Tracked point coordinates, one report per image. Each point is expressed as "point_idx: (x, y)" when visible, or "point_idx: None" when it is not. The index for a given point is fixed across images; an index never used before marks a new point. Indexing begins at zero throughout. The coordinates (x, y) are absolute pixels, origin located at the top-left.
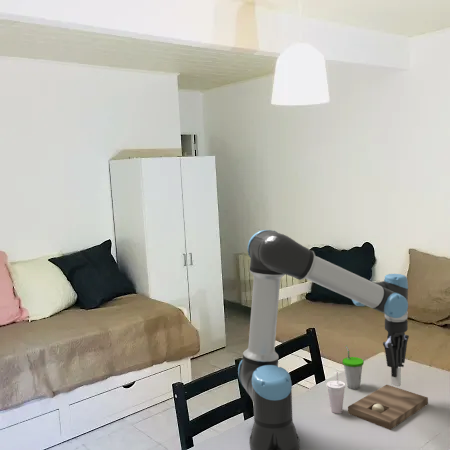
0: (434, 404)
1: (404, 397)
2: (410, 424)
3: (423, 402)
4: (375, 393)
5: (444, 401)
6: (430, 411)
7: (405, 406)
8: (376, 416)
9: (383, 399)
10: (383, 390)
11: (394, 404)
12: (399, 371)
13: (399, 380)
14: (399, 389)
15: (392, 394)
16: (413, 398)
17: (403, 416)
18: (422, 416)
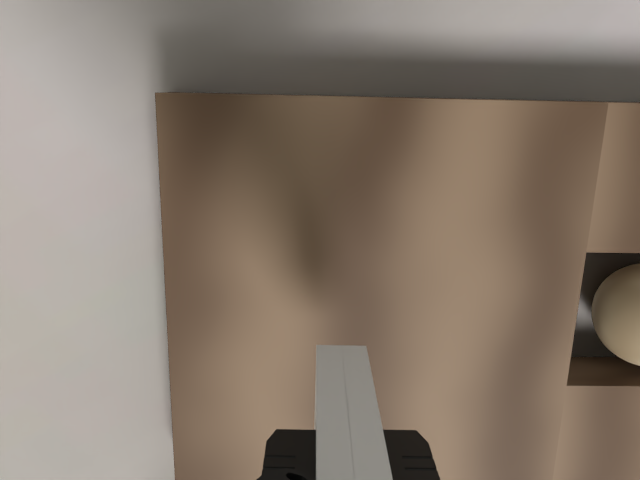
0: (129, 46)
1: (310, 262)
2: (617, 26)
3: (250, 94)
4: None
5: (3, 2)
6: (283, 7)
7: (480, 162)
8: None
9: (468, 373)
10: None
11: (503, 256)
12: (356, 451)
13: (345, 377)
14: (188, 375)
15: None
16: (273, 189)
17: (615, 102)
18: (419, 17)
